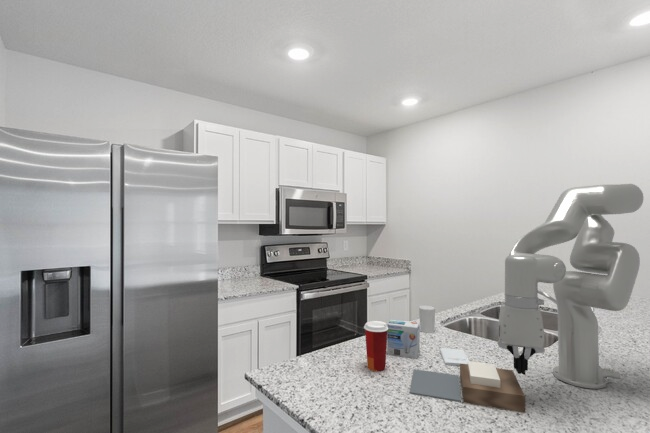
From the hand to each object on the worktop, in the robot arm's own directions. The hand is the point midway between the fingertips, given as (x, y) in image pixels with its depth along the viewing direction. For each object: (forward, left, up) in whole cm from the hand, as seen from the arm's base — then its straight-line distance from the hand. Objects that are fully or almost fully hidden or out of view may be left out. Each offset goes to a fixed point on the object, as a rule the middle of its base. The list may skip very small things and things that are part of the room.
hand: (520, 372), depth 87 cm
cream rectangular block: (+9, -1, -3) cm, 9 cm away
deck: (+7, -1, -7) cm, 10 cm away
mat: (+21, -1, -7) cm, 23 cm away
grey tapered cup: (+25, -49, -7) cm, 56 cm away
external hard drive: (+15, -22, -8) cm, 28 cm away
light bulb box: (+32, -21, -7) cm, 39 cm away
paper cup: (+39, -6, -7) cm, 41 cm away
